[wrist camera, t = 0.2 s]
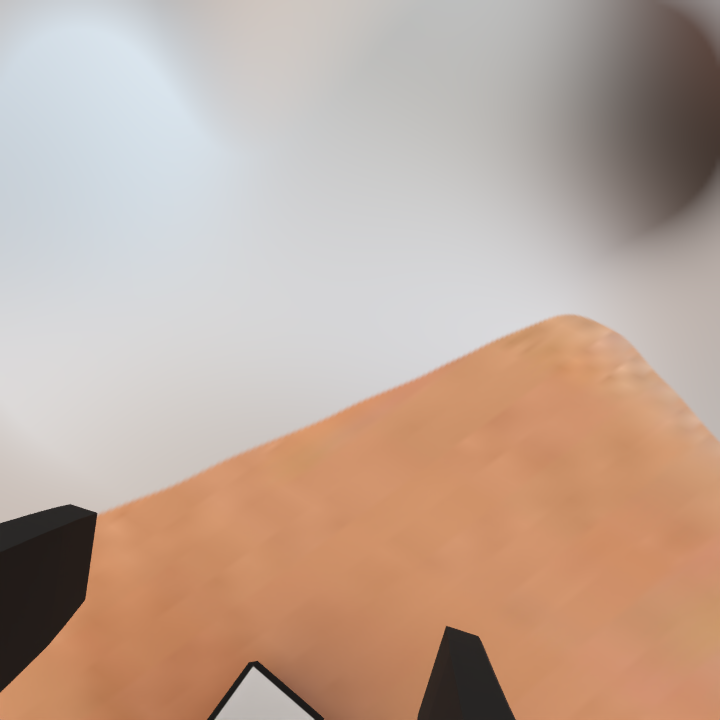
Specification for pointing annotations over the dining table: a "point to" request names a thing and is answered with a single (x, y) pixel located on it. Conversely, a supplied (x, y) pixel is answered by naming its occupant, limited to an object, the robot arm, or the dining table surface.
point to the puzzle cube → (261, 699)
